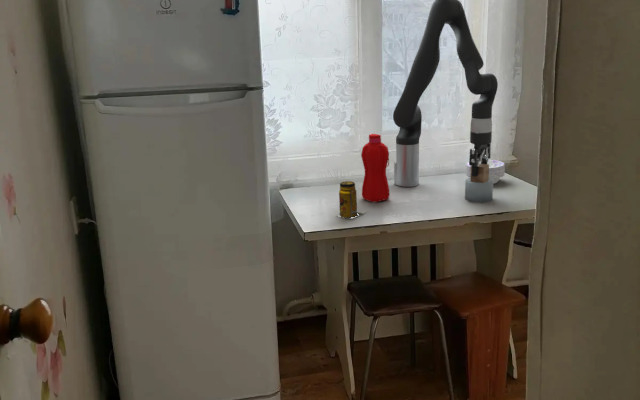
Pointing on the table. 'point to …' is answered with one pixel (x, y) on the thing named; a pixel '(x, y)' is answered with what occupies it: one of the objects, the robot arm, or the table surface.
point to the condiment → (348, 200)
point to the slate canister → (478, 191)
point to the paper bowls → (491, 170)
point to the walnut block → (481, 174)
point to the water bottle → (375, 170)
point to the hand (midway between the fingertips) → (479, 173)
